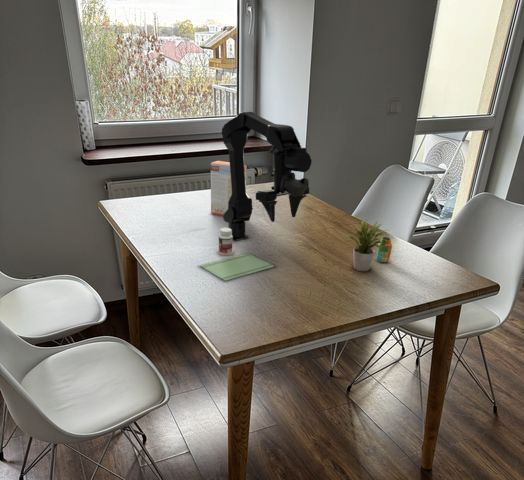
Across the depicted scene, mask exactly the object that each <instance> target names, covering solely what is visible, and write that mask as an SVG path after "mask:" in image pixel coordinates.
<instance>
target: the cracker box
mask: <svg viewBox="0 0 524 480" xmlns="http://www.w3.org/2000/svg"><path fill="white" fill-rule="evenodd" d="M247 169H248V168H247V165H245V164H244V172H245V187H246V188H247ZM231 195H232V186H231V173H230V161H224V160H216V161H212V162H210V213H211V214H212V215H216V216H220V217H223V215H224V213H225V212H226V211H227V210H228V202H229V199H230V197H231Z"/></svg>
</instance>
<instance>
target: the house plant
mask: <svg viewBox="0 0 524 480" xmlns="http://www.w3.org/2000/svg"><path fill="white" fill-rule="evenodd" d="M377 224H378V221H376V222H375V223H374V224H373V225H372V227H371V228H370V229H369V227H368V220H367V219H365V222H364V220H363V219H361V224H360V226H358V227H360V230H358V228H357V227H356V226H355V225H354V224H352V227H353V228H354V230H353V229H352V230H353V232H354V233H355V234H356V237H357V238H358V240H357V238H355V237H354V236H353V235H348V236H347V238H348V239H351V240H352V241H354V242H355V246H354V248H353V249H352V251H353V269H354V270H356V271H359V272H368V271H369V270H370V268H371V265H372V262H373V260H374V256H375V252H376V250H374V249H373V248H374V247H377V249H378V248H379V249H380V247H379V245H378V244H379V243H383V242H381V241H382V240H385V239H382V240H381V239H380V238H378V237H379V236H382V235H383V236H384V235H386V234H388V232H387V231H388V229H384V230H381V231H378V230H379V228H380V227H381V226H382V225H383V223H380V224H378V225H377Z"/></svg>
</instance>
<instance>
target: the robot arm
mask: <svg viewBox="0 0 524 480" xmlns="http://www.w3.org/2000/svg"><path fill="white" fill-rule="evenodd" d="M252 131H254V132H256V133H257V134H259V135H261V136H263V137H264V138H266V142H267V143H268V144H270V145H271V146H272V148H271V149H270V150H269V151H268V153H269V154H270V155H272V156H273V172H271V173H270V176H271V177H273V185H272V186H271V187H270V188H271V189H266V188H263V189H259V190H256V192H255V200H256V201H258V202H259V203H261V204H262V206H263V208H264V209H265V212H266V213H267V215H268V217H269V220H270V222H271V223H275V219H276V217H275V216H276V205H277V203H278V201H277V198H278V197H282V196H286V195H288V201H289V207H290V214H291V217H292V218H296V216H297V212H298V210H299V206H300V204H301V201H302V200H304V198H307V195H309V194H310V187H309V185H310V184H309V178H306V177H302V178H300V179H299V178H298V179H297V178H296V174H295V172H297V173H306V172H308V171H309V170H310V169H311V166H312V158H311V155H310V154H309V152H307V147H302V145H301V142H300V141H299V139H298V137H297V135H296V132H295V129H294V128H293V126H291V125H288V124H278V123H274V122H272V121H270V120H268V119H266V118H264V117H262V116H260V115H258V114H256V113H255V112H254V111H241V112H239V113H238V114H237V115H236V116H235V117H233V118H232V119H230V120H228V121H227V122H226V123H224V125H223V126H222V127H221V136H222V141H223V145H224V146H225V148H226V149H227V151H228V158H229V159H228V160H229V163H230V173H231V186H232V195H231V197H230V199H229V202H228V210H227V211H226V212H225V213H224V215H223V216H222V218H223V221H224V222H225V223H227V225H228V227H227V228H230V229H231V230H232V234H231V235H232V236H233V241H234V242H235V241H239V240H244V239H247V238H249V236H248V235H247V234H246V222H249V221H250V220H251V217H252V213H253V210H254V207H253V199H252V197H250V196H248V194H247V186H246V187H245V172H244V165H245V159H244V158H245V157H244V156H245V155H244V149H245V147H246V145H247V142H248V134H250V133H251V132H252Z"/></svg>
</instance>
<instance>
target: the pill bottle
mask: <svg viewBox="0 0 524 480" xmlns="http://www.w3.org/2000/svg"><path fill="white" fill-rule="evenodd" d="M231 234H232V230H231V229H230V228H228V227H222V228H220V229H219V235H218V253H219V255H221V256H230V255H232V254H233V246H234V245H233V243H234V242H233V241H234V240H233V236H232V235H231Z"/></svg>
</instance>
